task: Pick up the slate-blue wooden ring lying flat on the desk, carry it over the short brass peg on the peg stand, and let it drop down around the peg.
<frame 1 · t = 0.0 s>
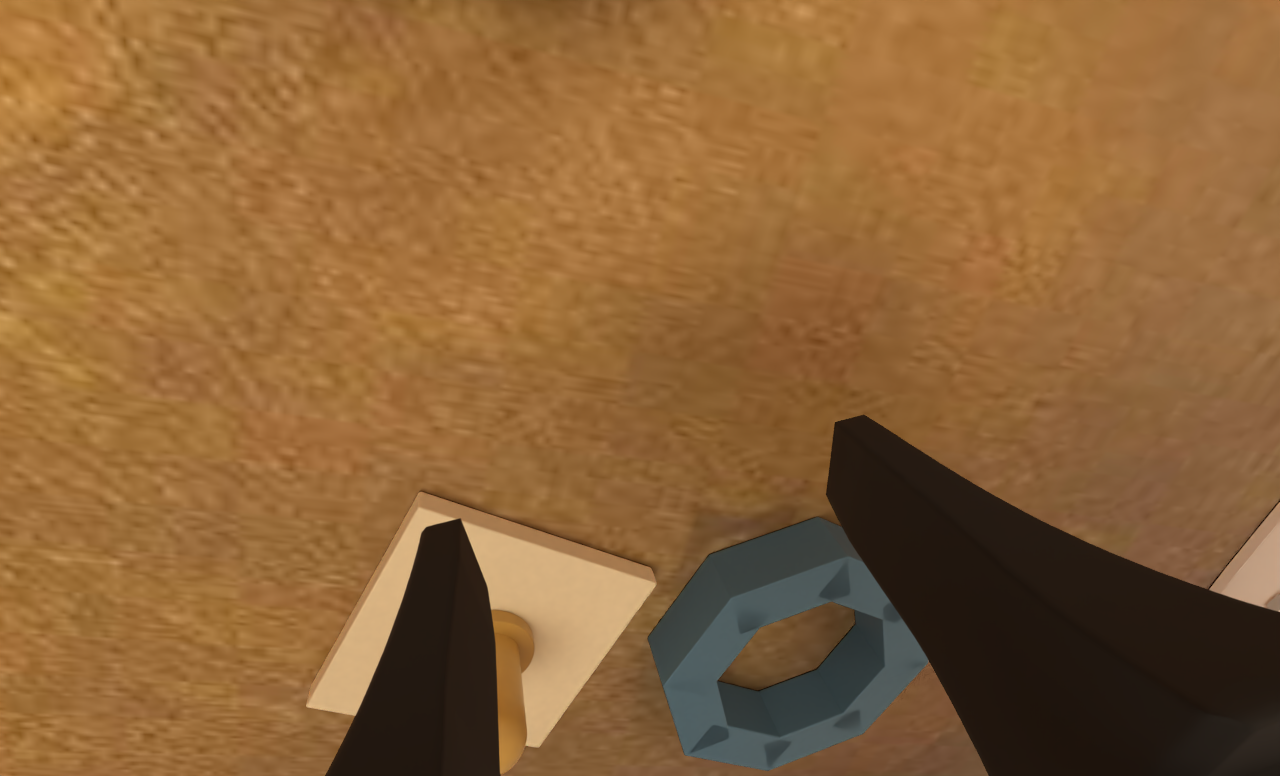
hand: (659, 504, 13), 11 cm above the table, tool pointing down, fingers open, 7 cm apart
peg stand: (485, 624, 27), on the table
ring: (779, 628, 31), on the table
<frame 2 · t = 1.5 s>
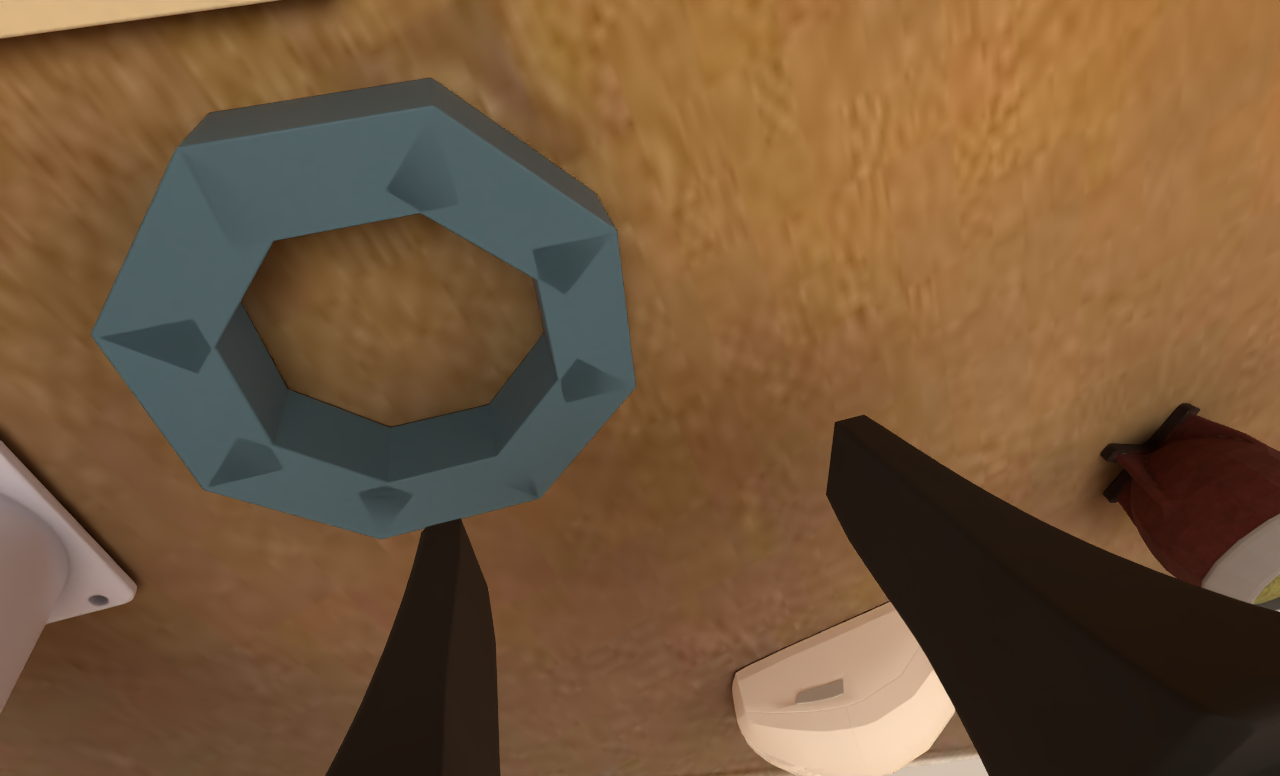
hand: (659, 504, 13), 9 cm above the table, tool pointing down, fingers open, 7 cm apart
ring: (403, 315, 19), on the table
mate gourd: (1139, 445, 34), on the table
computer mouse: (831, 651, 38), on the table
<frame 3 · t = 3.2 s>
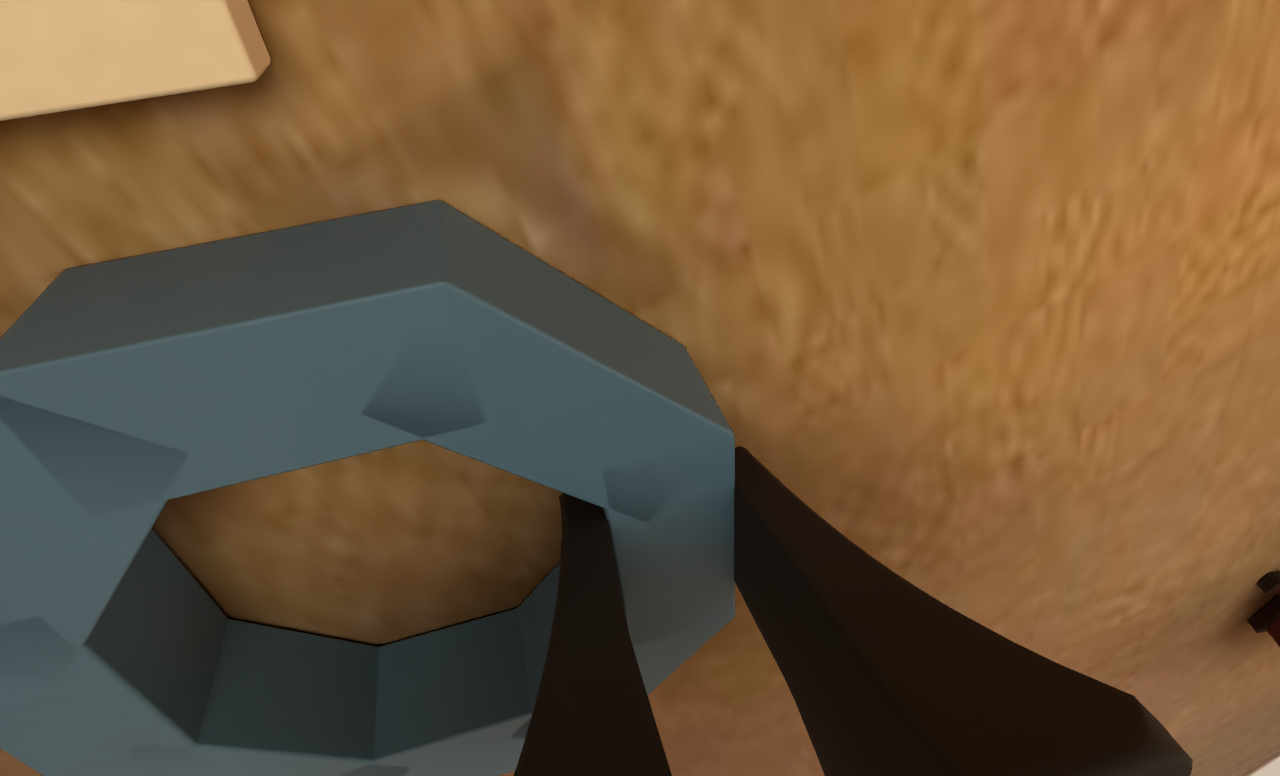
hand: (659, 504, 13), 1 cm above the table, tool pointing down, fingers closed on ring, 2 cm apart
ring: (396, 517, 13), on the table, touching gripper
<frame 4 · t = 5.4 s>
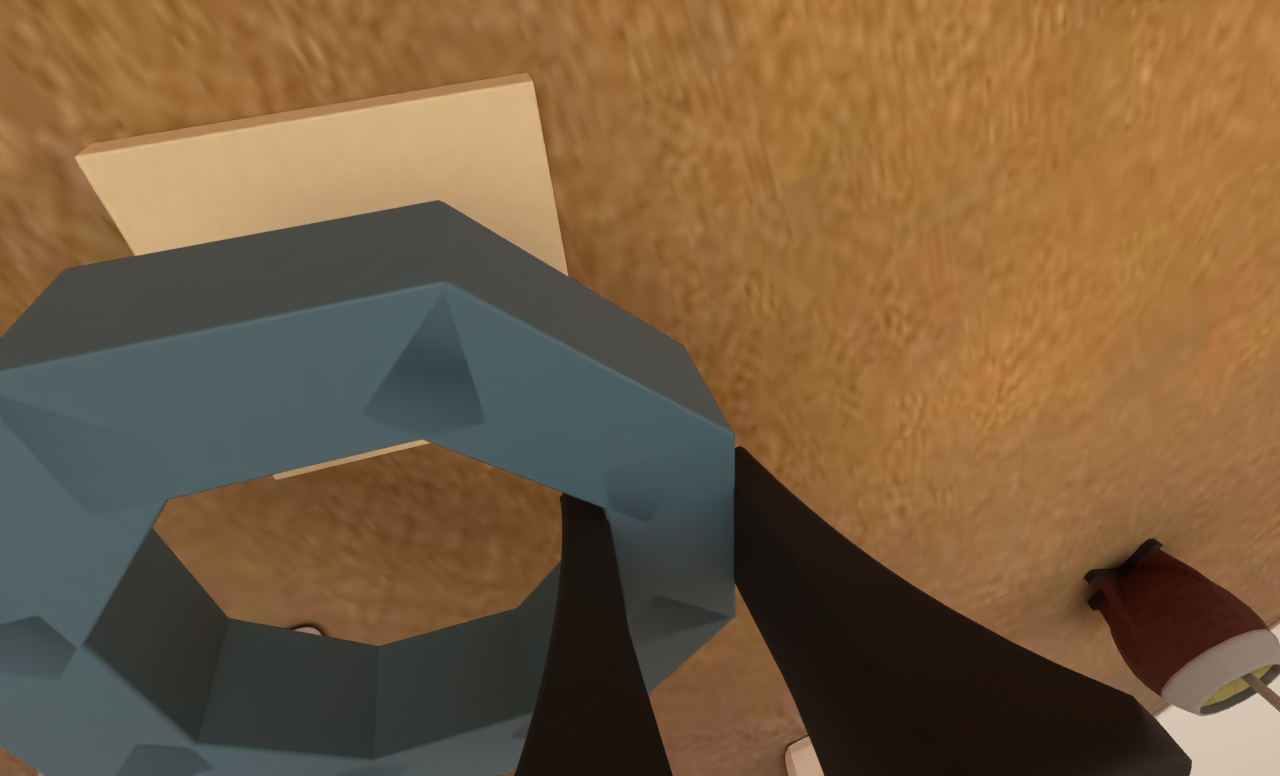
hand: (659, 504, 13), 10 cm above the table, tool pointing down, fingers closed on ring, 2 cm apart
peg stand: (388, 290, 19), on the table
ring: (397, 516, 13), point 8 cm above the table, touching gripper
mate gourd: (1115, 568, 42), on the table
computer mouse: (864, 725, 47), on the table
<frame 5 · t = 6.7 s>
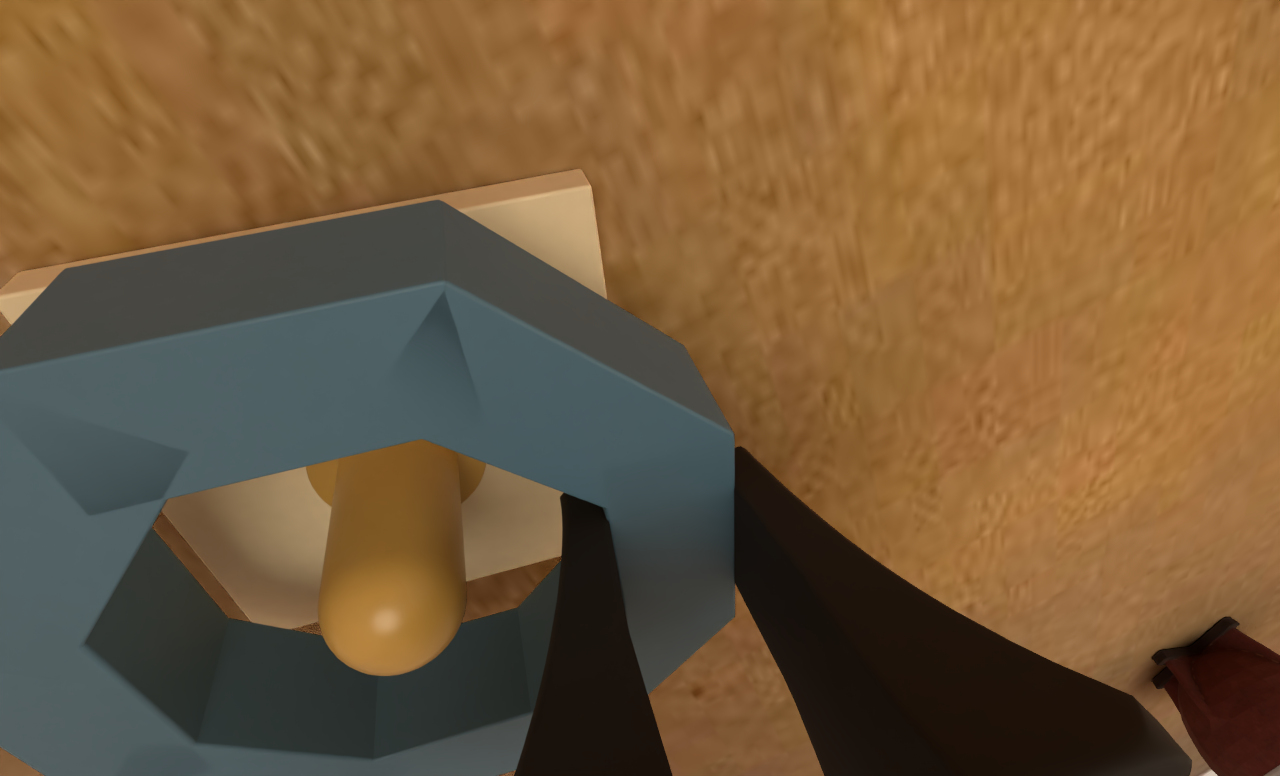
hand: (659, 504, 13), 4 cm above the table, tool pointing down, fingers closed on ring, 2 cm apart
peg stand: (401, 419, 15), on the table
ring: (396, 516, 13), point 3 cm above the table, touching gripper
mate gourd: (1184, 645, 39), on the table
when the fingers open (2 cm above the table, at t = 7.7 s): ring stays where it is, resting on peg stand.
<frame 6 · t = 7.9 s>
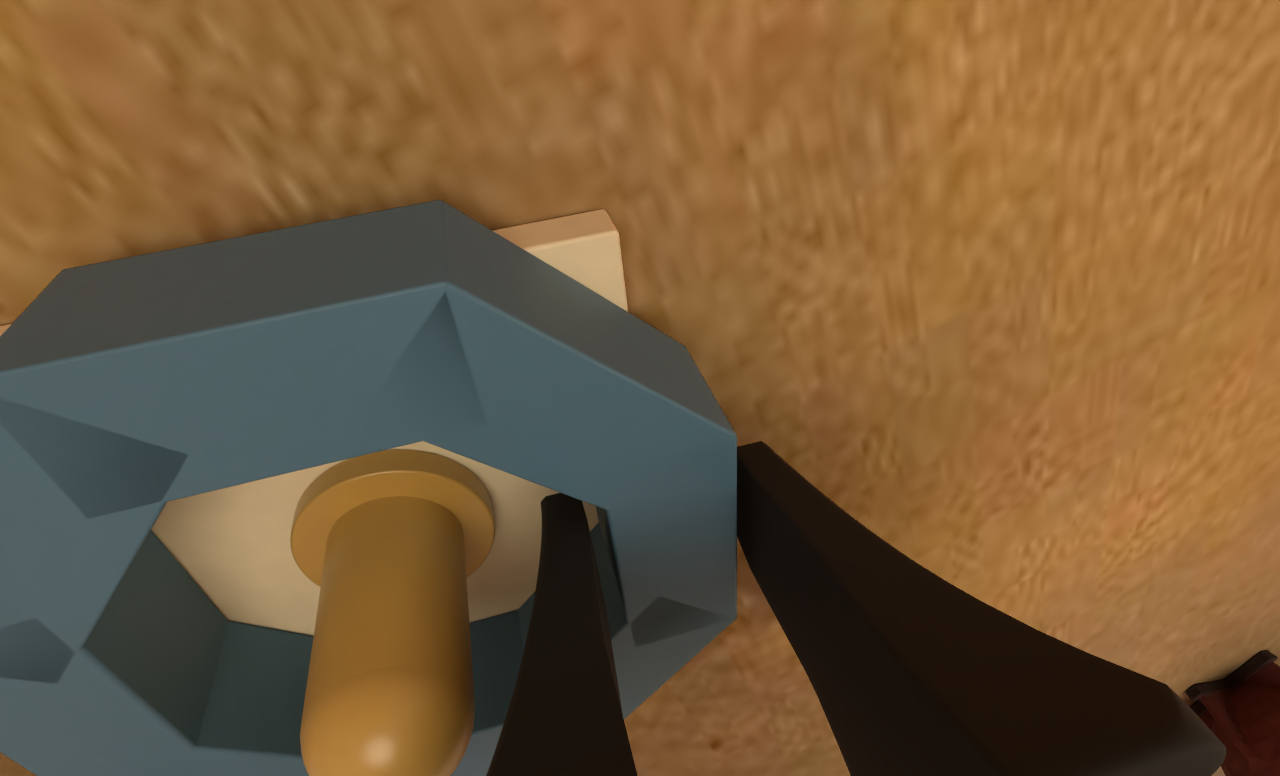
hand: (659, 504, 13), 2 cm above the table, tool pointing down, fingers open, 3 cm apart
peg stand: (399, 483, 14), on the table
ring: (397, 518, 13), point 1 cm above the table, touching peg stand
mate gourd: (1218, 679, 37), on the table
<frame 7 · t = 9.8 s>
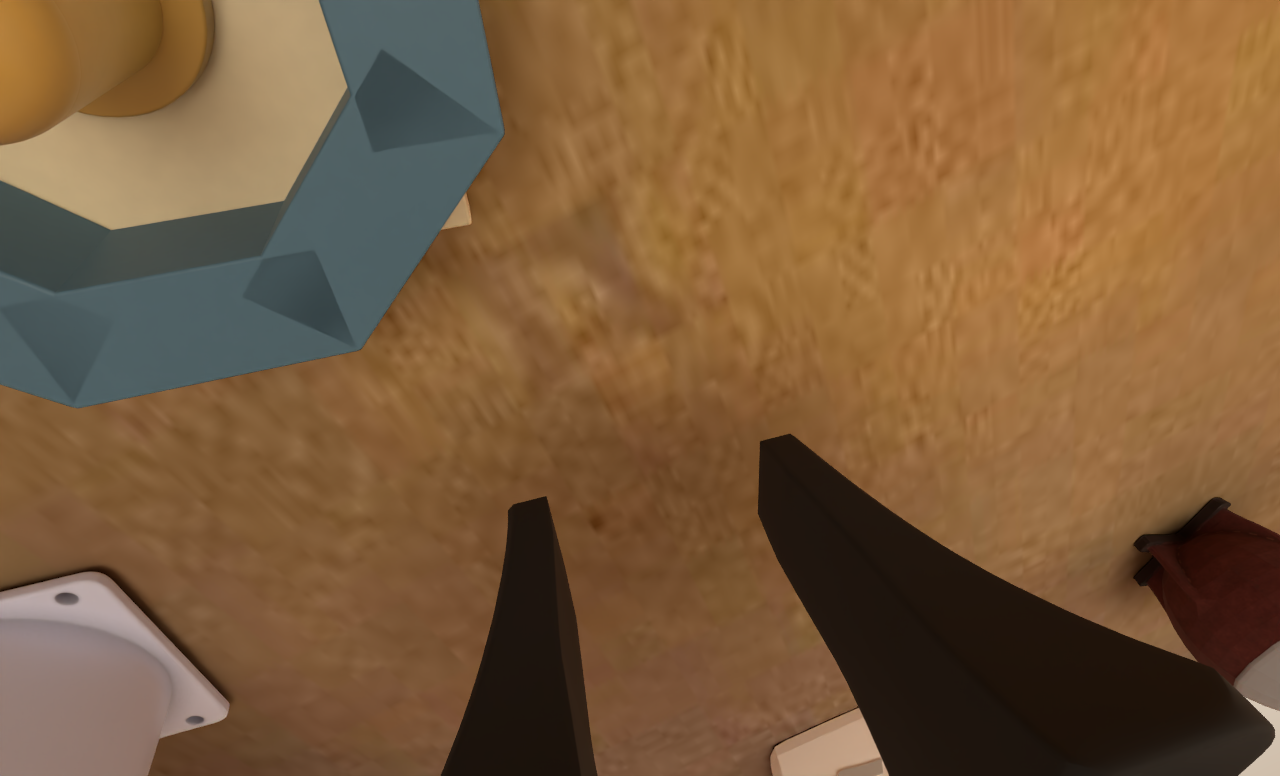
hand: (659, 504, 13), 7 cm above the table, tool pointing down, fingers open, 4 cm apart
mate gourd: (1170, 534, 35), on the table
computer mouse: (865, 722, 39), on the table
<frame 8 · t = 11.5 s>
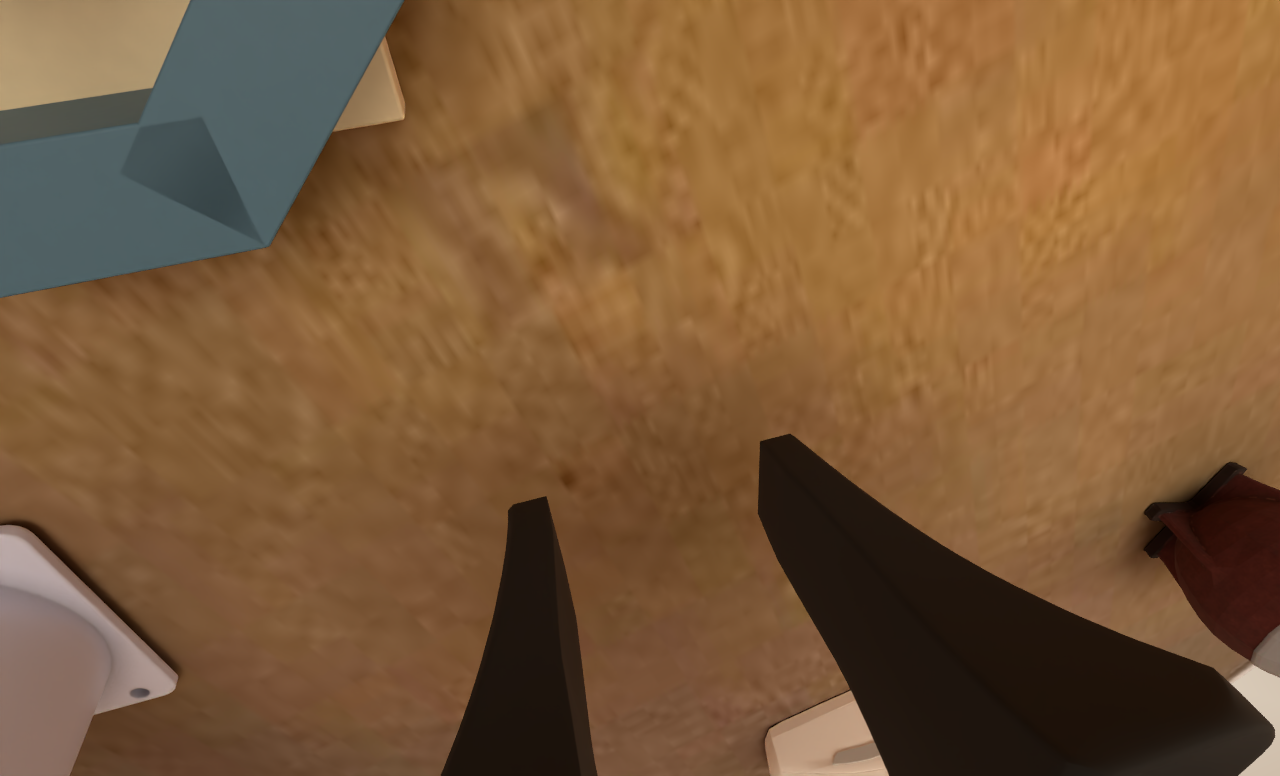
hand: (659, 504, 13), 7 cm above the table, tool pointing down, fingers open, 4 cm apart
mate gourd: (1182, 502, 33), on the table
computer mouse: (864, 704, 38), on the table
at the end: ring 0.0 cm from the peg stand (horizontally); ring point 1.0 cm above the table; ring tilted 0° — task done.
